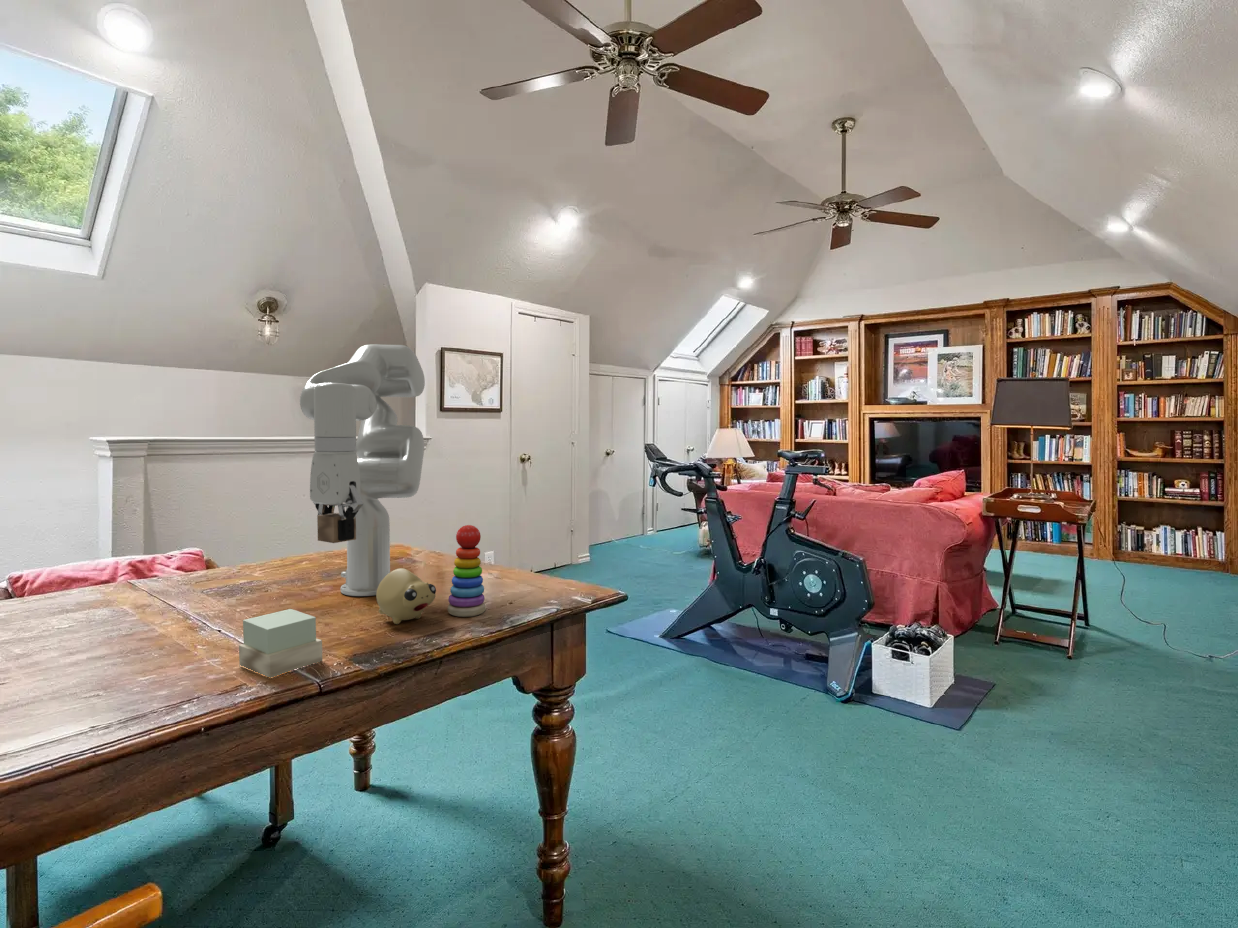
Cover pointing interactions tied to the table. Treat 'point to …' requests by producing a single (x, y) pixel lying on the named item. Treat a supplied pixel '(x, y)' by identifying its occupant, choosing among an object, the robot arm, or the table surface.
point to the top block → (279, 630)
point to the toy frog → (403, 595)
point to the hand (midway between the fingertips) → (337, 537)
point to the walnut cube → (330, 528)
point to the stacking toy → (467, 576)
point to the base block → (280, 658)
